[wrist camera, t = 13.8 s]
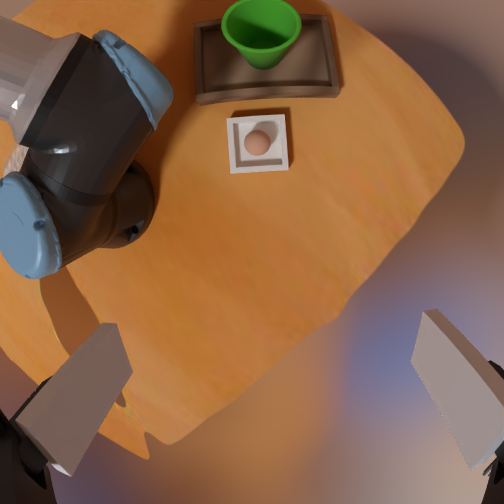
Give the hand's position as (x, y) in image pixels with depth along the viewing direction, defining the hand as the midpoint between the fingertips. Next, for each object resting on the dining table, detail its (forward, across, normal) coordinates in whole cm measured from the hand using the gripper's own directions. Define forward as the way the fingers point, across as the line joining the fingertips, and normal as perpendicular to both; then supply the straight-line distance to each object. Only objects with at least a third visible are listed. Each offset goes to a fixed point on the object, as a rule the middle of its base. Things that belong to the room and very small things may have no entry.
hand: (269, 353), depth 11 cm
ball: (+31, -1, +11) cm, 33 cm away
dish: (+32, -1, +11) cm, 34 cm away
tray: (+32, +1, +25) cm, 40 cm away
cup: (+31, +1, +25) cm, 40 cm away
